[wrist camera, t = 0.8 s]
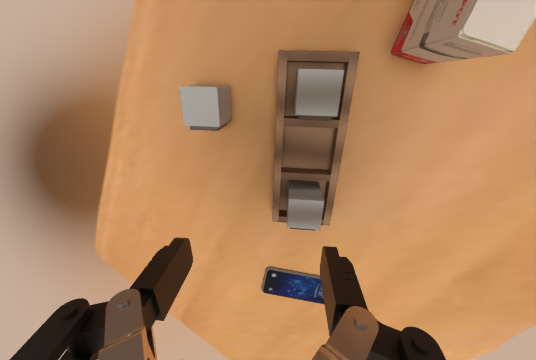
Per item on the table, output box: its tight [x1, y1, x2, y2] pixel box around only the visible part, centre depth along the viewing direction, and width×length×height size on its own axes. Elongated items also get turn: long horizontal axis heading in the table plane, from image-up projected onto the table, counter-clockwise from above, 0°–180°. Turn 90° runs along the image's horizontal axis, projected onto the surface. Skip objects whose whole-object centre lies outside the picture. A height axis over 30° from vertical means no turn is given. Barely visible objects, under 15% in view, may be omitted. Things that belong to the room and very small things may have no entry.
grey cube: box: [179, 85, 231, 131], centre depth 29 cm, size 5×4×6 cm
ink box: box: [392, 0, 536, 64], centre depth 20 cm, size 8×5×12 cm, turn 165°
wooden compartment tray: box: [272, 50, 360, 230], centre depth 29 cm, size 24×9×8 cm, turn 179°
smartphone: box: [262, 267, 325, 304], centre depth 45 cm, size 7×1×15 cm
